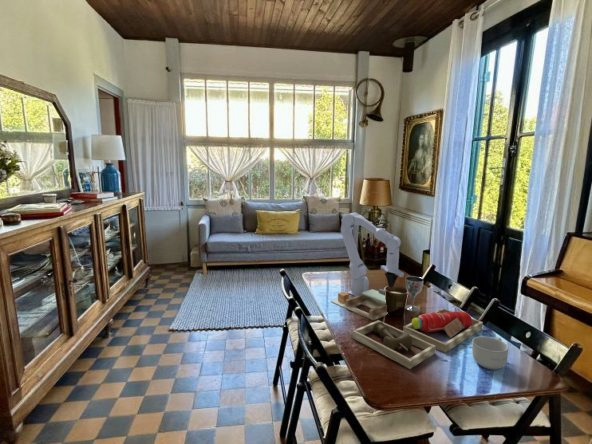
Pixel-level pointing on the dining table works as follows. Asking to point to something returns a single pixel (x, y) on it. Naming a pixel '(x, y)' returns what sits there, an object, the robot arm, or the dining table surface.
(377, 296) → the slide cover
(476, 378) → the dining table surface
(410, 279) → the wine glass
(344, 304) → the mat
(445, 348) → the bottle frame
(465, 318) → the water bottle
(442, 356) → the dining table surface
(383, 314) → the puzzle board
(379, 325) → the kendama
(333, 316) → the dining table surface
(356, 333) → the frame
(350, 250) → the robot arm
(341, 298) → the wooden block
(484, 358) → the teacup
